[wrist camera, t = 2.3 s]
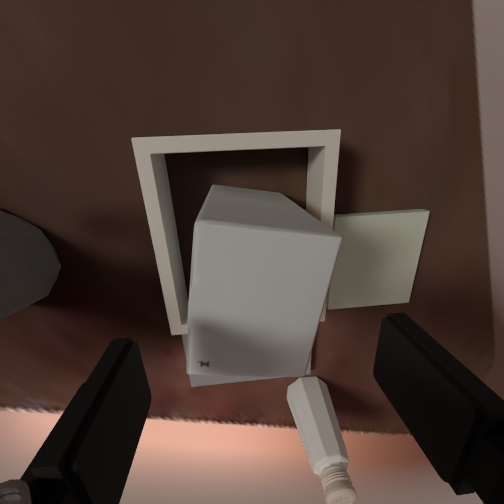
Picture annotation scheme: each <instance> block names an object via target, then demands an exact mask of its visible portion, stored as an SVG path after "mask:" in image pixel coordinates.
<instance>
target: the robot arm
mask: <svg viewBox="0 0 504 504" xmlns="http://www.w3.org/2000/svg"><path fill="white" fill-rule="evenodd" d="M373 373H374V377H375V379H376V381H377V383H378V384H379V386H380V387H381V389H382V390H383V392H384V393H385V395H386V396H387V398H388V399H389V401H390V402H391V404H392V405H393V407H394V408H395V410H396V411H397V413H398V414H399V416H400V417H401V419H402V420H403V422H404V423H405V425H406V427H407V428H408V430H409V431H410V433H411V434H412V436H413V437H414V438H415V440H416V442H417V443H418V445H419V446H420V448H421V449H422V451H423V452H424V454H425V455H426V457H427V458H428V459H429V461H430V463H431V464H432V466H433V467H434V469H435V470H436V472H437V473H438V475H439V476H440V477H441V479H442V480H443V481H445V482H447V483H449V484H450V486H451V487H452V489H453V490H454V492H455V493H456V495H462V494H469V493H474V492H475V491H476V493H477V495H478V496H479V497H480V499H481V500H482V501H483V504H504V400H503V399H501V398H500V397H499V396H498V395H497V394H496V393H494V391H492V390H491V389H490V388H489V387H488V386H487V385H486V384H484V383H483V382H482V381H481V380H480V379H479V378H478V377H477V376H475V375H474V374H473V373H472V372H471V371H470V370H469V369H467V368H466V367H465V366H464V365H463V364H462V363H461V362H459V361H458V360H457V359H456V358H455V357H454V356H453V355H452V354H450V353H449V352H448V351H447V350H446V349H445V348H444V347H442V346H441V345H440V344H439V343H438V342H437V341H436V340H434V339H433V338H432V337H431V336H430V335H429V334H428V333H427V332H425V331H424V330H423V329H422V328H421V327H420V326H419V325H417V324H416V323H415V322H414V321H413V320H412V319H411V318H409V317H408V316H407V315H406V314H404V313H394V314H387V315H386V317H385V318H384V319H382V322H381V328H380V334H379V340H378V346H377V351H376V357H375V363H374V369H373ZM150 404H151V392H150V388H149V384H148V381H147V377H146V373H145V369H144V365H143V361H142V358H141V354H140V350H139V346H138V343H137V342H133V340H132V339H131V338H123V339H114V340H113V341H112V342H111V343H110V345H109V346H108V348H107V349H106V351H105V352H104V354H103V356H102V357H101V359H100V360H99V362H98V363H97V365H96V367H95V368H94V370H93V371H92V373H91V374H90V376H89V377H88V379H87V381H86V382H85V383H83V384H82V386H81V387H80V388H79V389H78V391H77V393H76V394H75V396H74V397H73V399H72V400H71V402H70V403H69V405H68V406H67V408H66V409H65V411H64V412H63V414H62V416H61V417H60V419H59V420H58V422H57V423H56V425H55V426H54V428H53V429H52V431H51V432H50V434H49V436H48V437H47V439H46V440H45V442H44V443H43V445H42V447H41V448H40V449H39V451H38V452H37V454H36V456H35V457H34V459H33V460H32V462H31V463H30V465H29V466H28V468H27V469H26V471H25V473H24V474H23V476H22V477H21V479H17V480H8V481H5V482H2V483H0V504H119V502H120V499H121V496H122V493H123V490H124V487H125V483H126V480H127V477H128V474H129V471H130V468H131V465H132V461H133V458H134V455H135V452H136V449H137V445H138V443H139V439H140V436H141V433H142V430H143V427H144V424H145V421H146V417H147V414H148V411H149V408H150Z"/></svg>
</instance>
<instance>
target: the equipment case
mask: <svg viewBox="0 0 504 504" xmlns="http://www.w3.org/2000/svg"><path fill="white" fill-rule="evenodd" d="M340 133H341V129H338V130H313V131H288V132H263V133H239V134H214V135H189V136H164V137H140V138H131V140H132V145H133V149H134V154H135V159H136V164H137V169H138V174H139V179H140V184H141V188H142V193H143V198H144V203H145V208H146V213H147V218H148V223H149V227H150V232H151V237H152V242H153V247H154V252H155V257H156V262H157V266H158V271H159V276H160V281H161V286H162V291H163V296H164V301H165V306H166V310H167V315H168V320H169V325H170V330H171V335H180V334H182V339H183V345H184V350H185V356H186V361H187V345H188V327H187V319H188V302H189V300H188V296H187V290H186V284H185V278H184V272H183V265H182V259H181V253H180V247H179V241H178V235H177V229H176V222H175V216H174V210H173V204H172V198H171V192H170V186H169V179H168V173H167V167H166V161H165V155H164V154H166V153H188V152H211V151H233V150H255V149H278V148H300V147H308V171H307V196H306V211H307V212H308V213H309V214H311V215H312V216H314V217H315V218H316V219H318V220H319V221H321V222H322V223H323V224H325V225H326V226H328V227H329V228H331V229H332V230H333V218H334V206H335V194H336V182H337V170H338V158H339V145H340ZM326 302H327V297H326V301H325V305H324V308H323V312H322V316H321V319H320V321H325V314H326ZM310 367H311V355H310V359H309V363H308V367H307V370H306V374H310ZM306 374H305V375H306ZM189 377H190V382H191V387H194V386H204V385H213V384H222V383H232V382H241V381H250V380H260V379H269V378H278V377H268V376H264V377H260V376H213V375H194V374H189Z"/></svg>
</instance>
